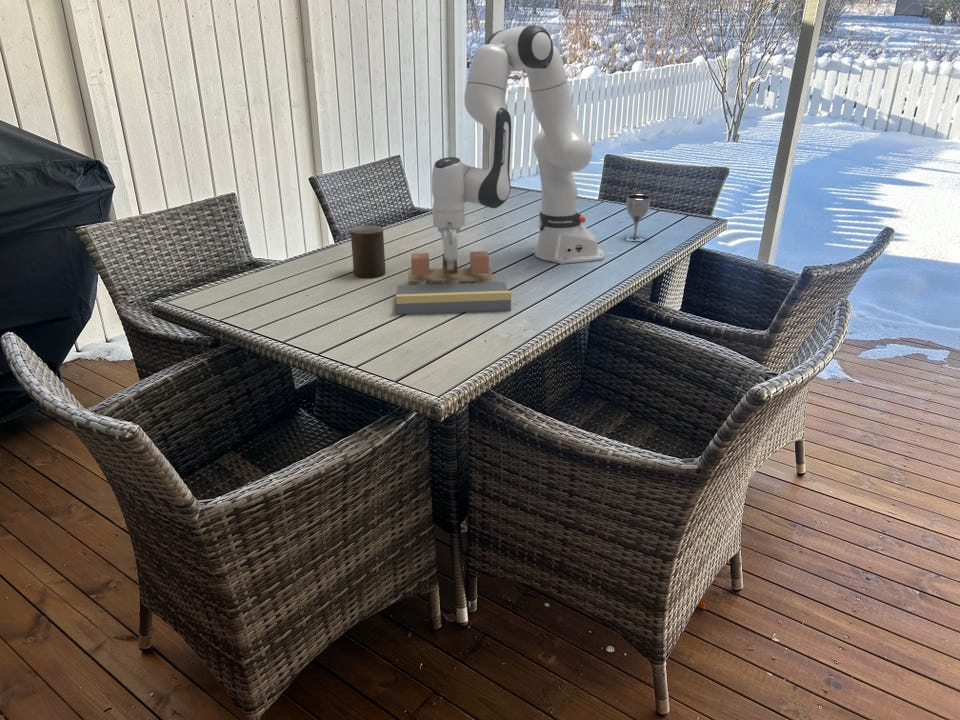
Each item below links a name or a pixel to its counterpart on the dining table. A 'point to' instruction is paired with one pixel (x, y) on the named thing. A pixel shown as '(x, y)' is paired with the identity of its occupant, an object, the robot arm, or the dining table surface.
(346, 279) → the dining table surface
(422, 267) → the block
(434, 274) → the pallet
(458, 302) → the dock
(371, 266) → the pillar candle
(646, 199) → the wine glass
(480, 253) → the block
